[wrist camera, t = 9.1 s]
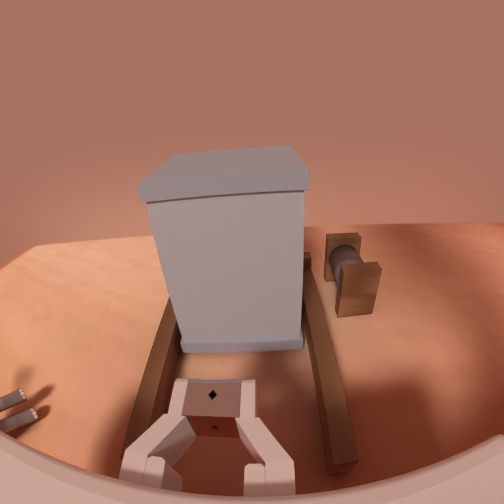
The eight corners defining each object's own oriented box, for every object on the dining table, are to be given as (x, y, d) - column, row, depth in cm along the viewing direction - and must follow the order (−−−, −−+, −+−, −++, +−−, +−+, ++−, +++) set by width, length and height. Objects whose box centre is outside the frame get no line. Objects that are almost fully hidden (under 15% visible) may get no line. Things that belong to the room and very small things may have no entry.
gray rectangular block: (291, 287, 26) (290, 145, 20) (302, 349, 19) (308, 169, 13) (198, 291, 26) (174, 155, 20) (183, 353, 20) (137, 184, 13)
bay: (352, 273, 27) (357, 232, 25) (423, 451, 11) (458, 416, 9) (185, 282, 28) (176, 242, 26) (134, 469, 12) (98, 439, 10)
